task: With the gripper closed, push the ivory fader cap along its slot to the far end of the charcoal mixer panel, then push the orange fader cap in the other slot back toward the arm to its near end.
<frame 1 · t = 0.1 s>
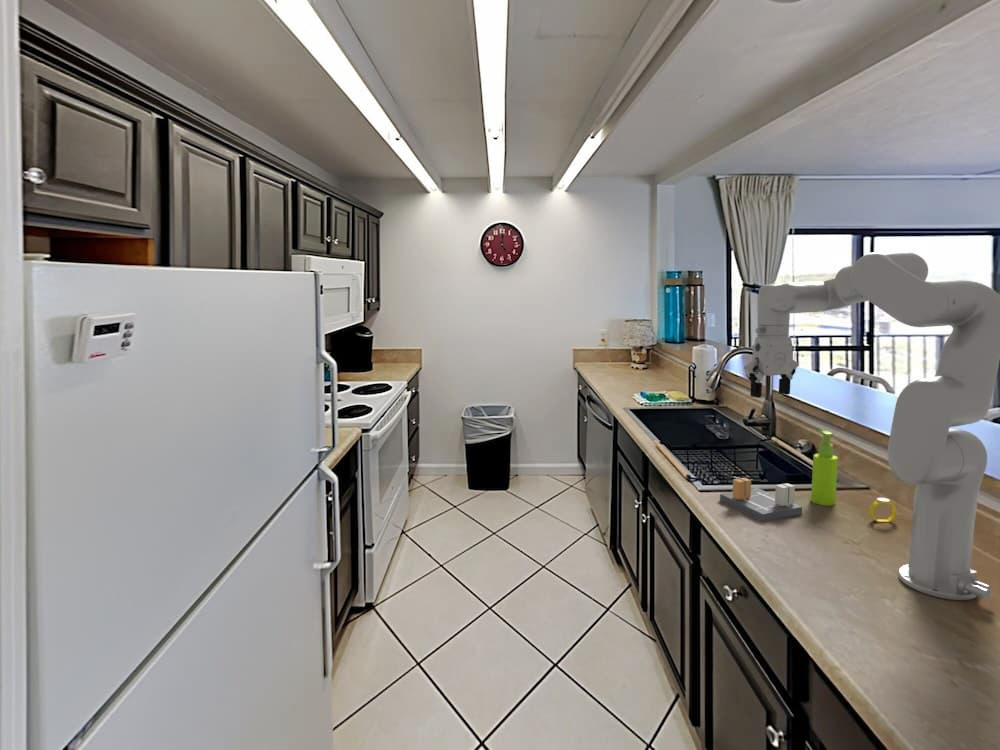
hand: (770, 395, 149), 31 cm above the worktop, fingers open, 9 cm apart
soap dispenser: (822, 501, 156), on the worktop
fader orange: (741, 488, 154), point 5 cm above the worktop, slide at 0.0 cm
watch: (882, 522, 141), on the worktop
fader ivory: (784, 494, 149), point 5 cm above the worktop, slide at 0.0 cm
mixer panel: (759, 507, 153), on the worktop
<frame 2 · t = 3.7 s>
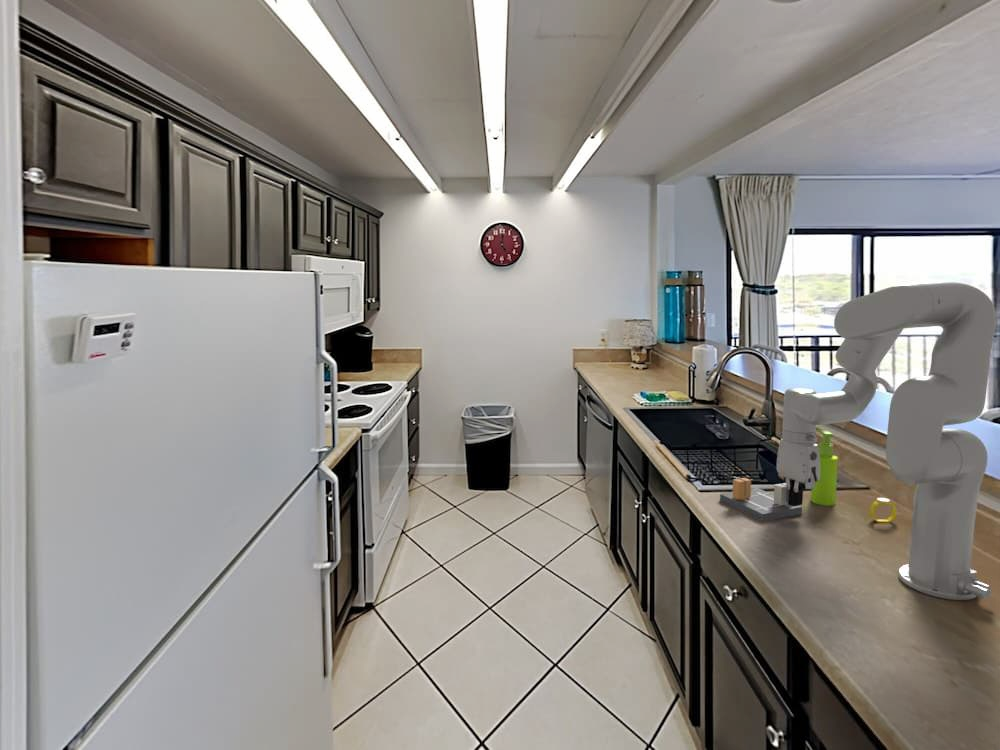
hand: (795, 504, 146), 3 cm above the worktop, fingers closed
fader ivory: (783, 493, 149), point 5 cm above the worktop, slide at 0.4 cm, touching gripper
everything else where it was.
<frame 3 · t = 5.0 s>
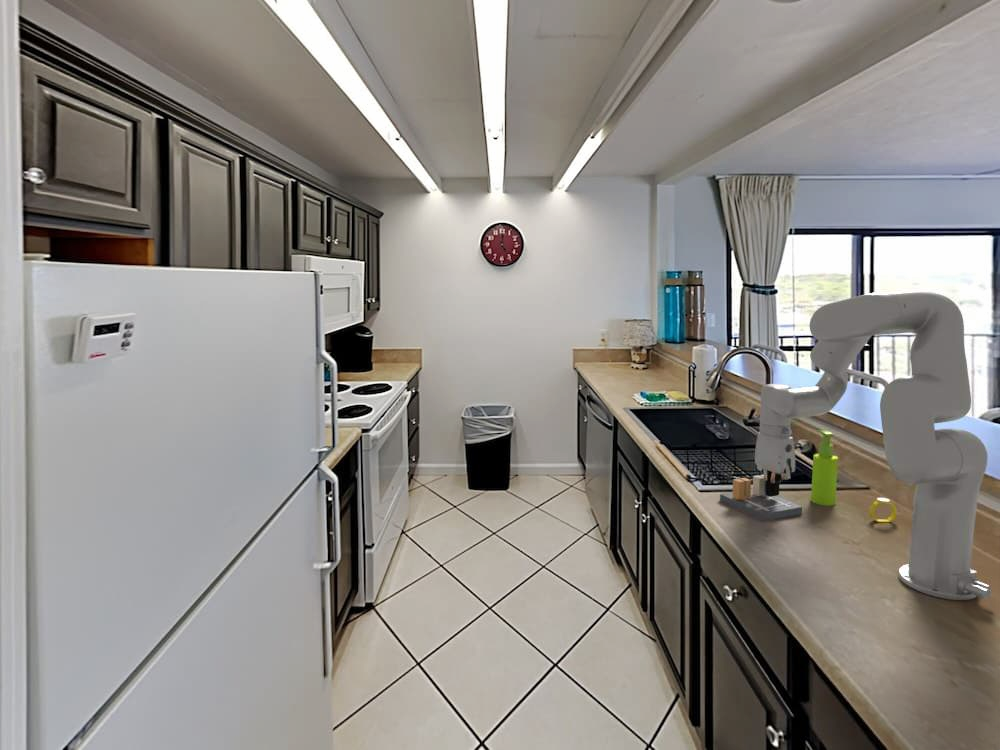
hand: (772, 494, 153), 3 cm above the worktop, fingers closed
fader ivory: (761, 484, 156), point 5 cm above the worktop, slide at 8.1 cm, touching gripper
everything else where it was.
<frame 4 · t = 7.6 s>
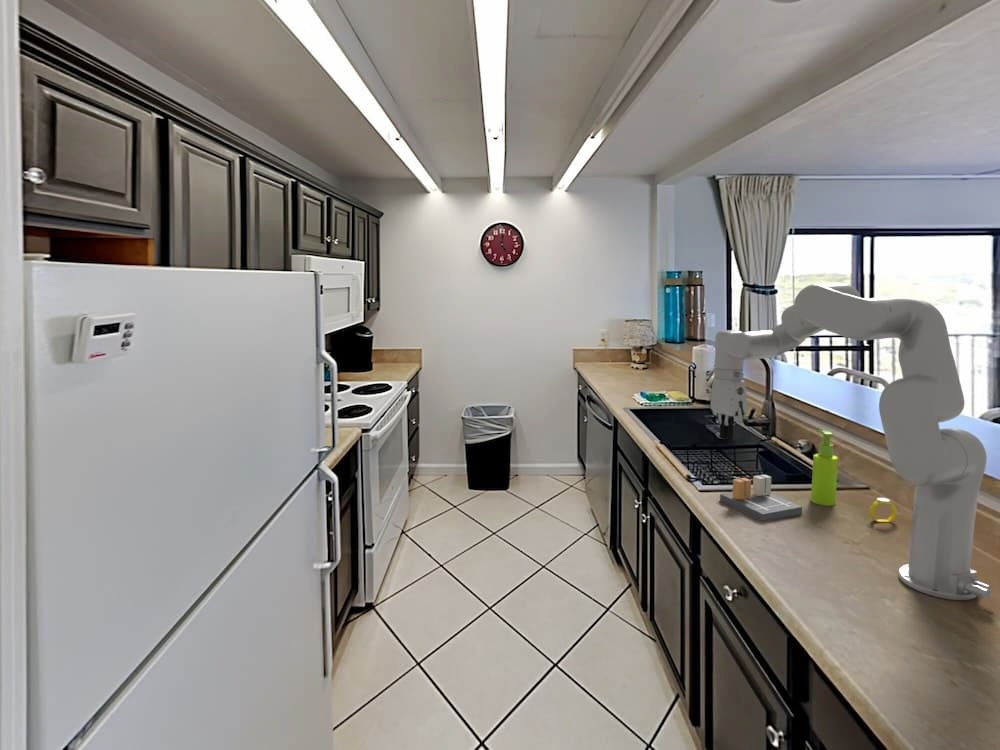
hand: (726, 438, 159), 18 cm above the worktop, fingers closed
fader ivory: (762, 485, 156), point 5 cm above the worktop, slide at 8.1 cm
everything else where it was.
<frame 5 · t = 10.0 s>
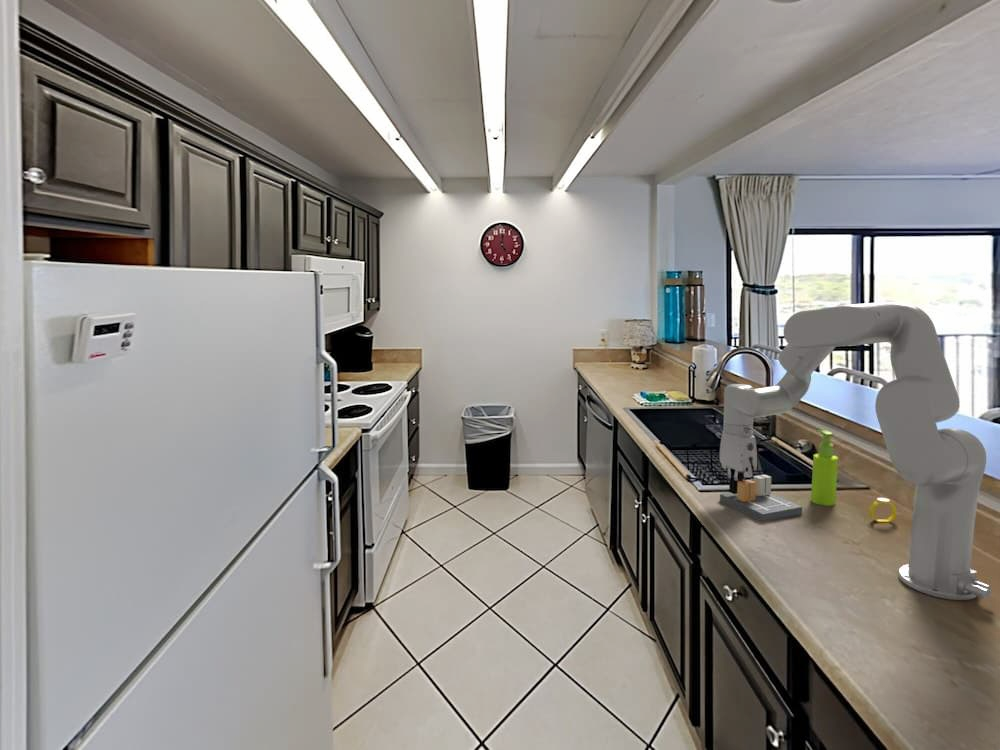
hand: (735, 492, 156), 3 cm above the worktop, fingers closed
fader orange: (746, 490, 152), point 5 cm above the worktop, slide at 1.8 cm, touching gripper
everything else where it was.
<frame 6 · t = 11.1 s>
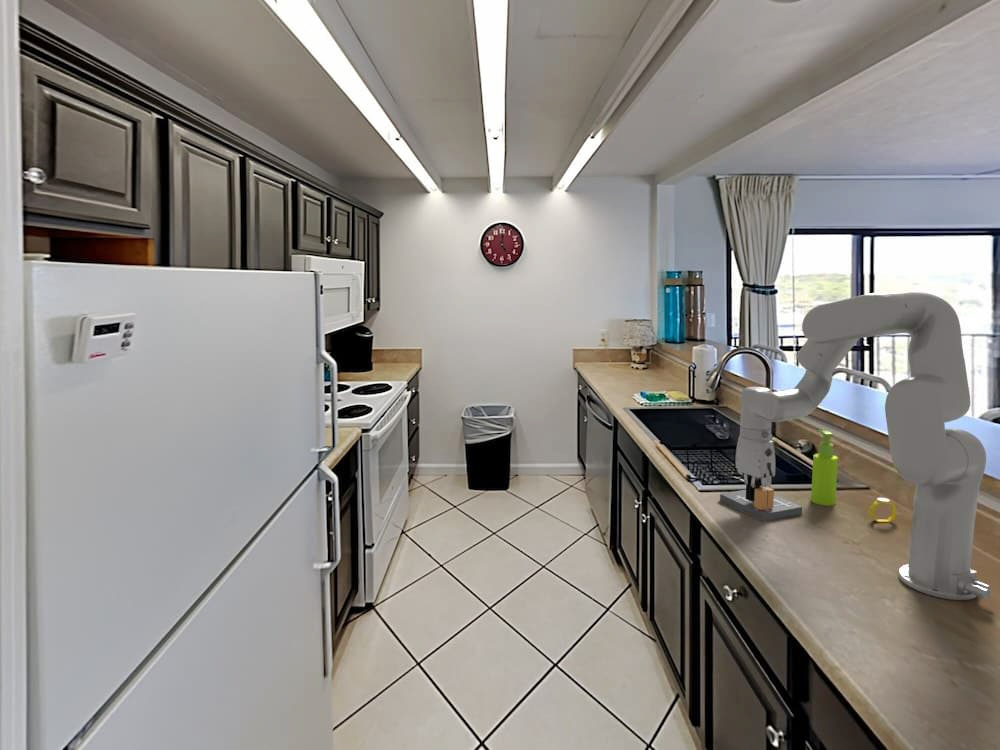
hand: (752, 499, 150), 3 cm above the worktop, fingers closed
fader orange: (763, 498, 146), point 5 cm above the worktop, slide at 8.1 cm, touching gripper
everything else where it was.
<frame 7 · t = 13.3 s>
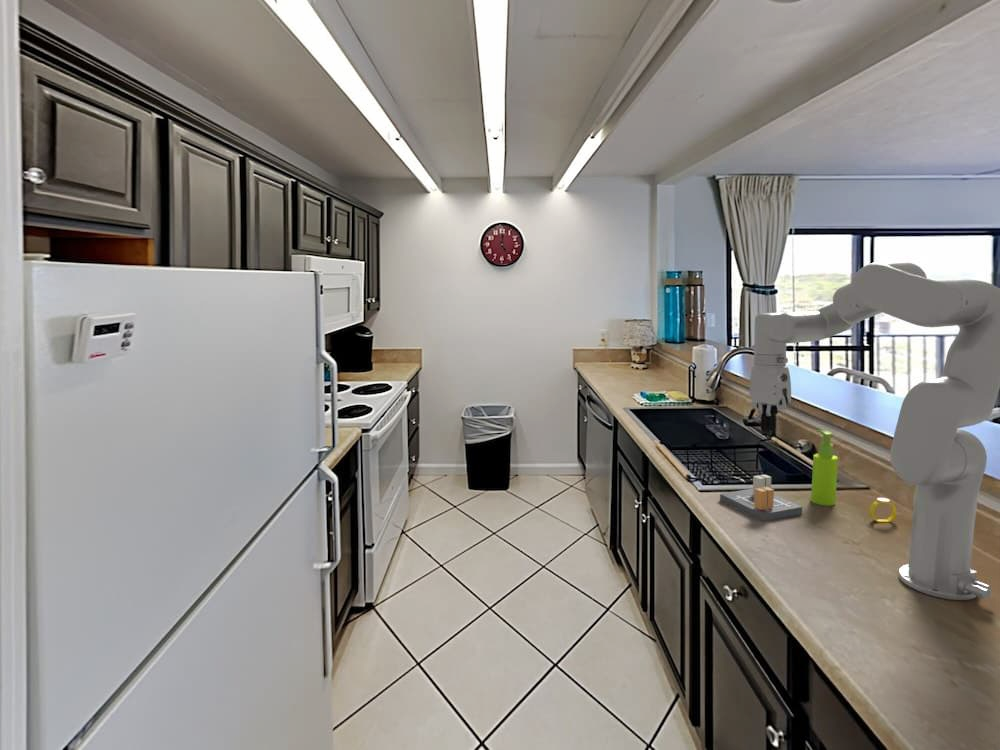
hand: (767, 429, 147), 23 cm above the worktop, fingers closed
fader orange: (763, 498, 146), point 5 cm above the worktop, slide at 8.1 cm
everything else where it was.
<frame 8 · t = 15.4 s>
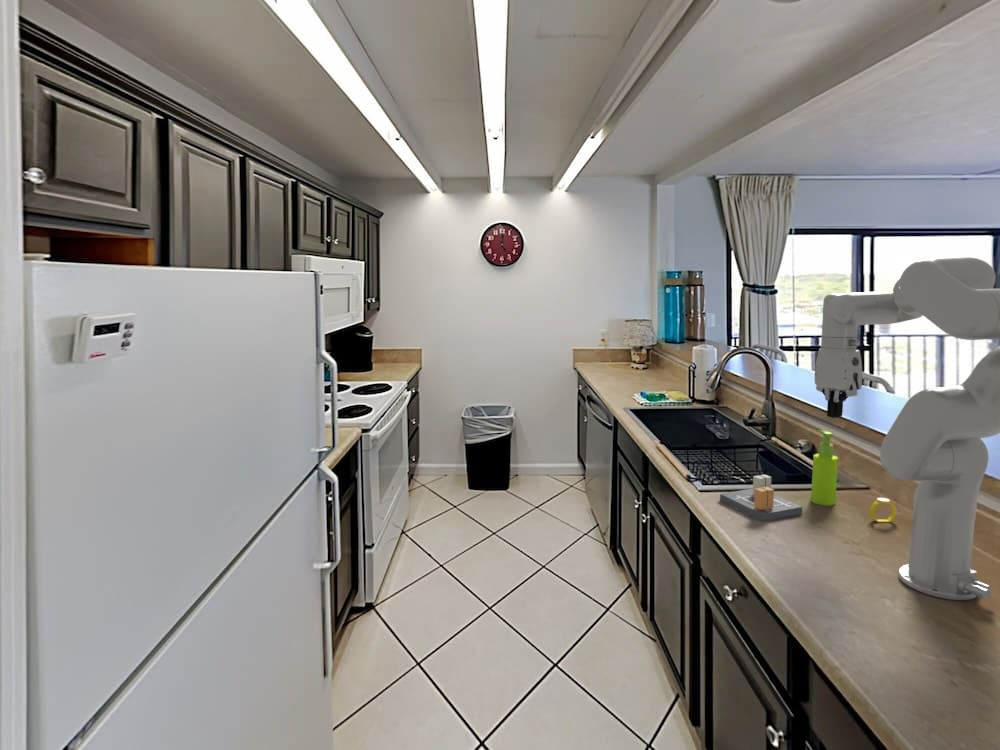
hand: (834, 416, 140), 27 cm above the worktop, fingers closed
nothing on the worktop moved.
at the end: fader ivory slide at 8.1 cm; fader orange slide at 8.1 cm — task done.
